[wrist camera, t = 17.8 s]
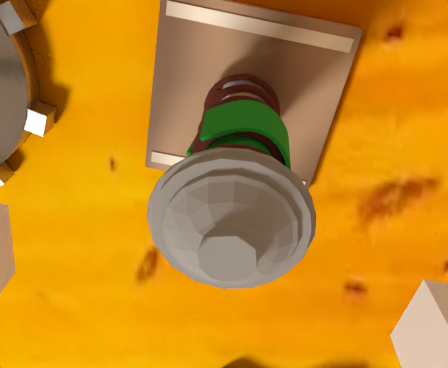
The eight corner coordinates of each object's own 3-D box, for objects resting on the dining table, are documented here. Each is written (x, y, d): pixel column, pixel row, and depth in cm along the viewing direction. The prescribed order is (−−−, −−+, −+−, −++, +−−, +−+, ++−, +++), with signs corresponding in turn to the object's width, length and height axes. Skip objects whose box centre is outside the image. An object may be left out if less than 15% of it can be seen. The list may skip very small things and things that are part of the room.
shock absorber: (174, 106, 27) (96, 255, 14) (242, 34, 24) (223, 136, 11) (242, 167, 29) (229, 347, 16) (311, 106, 26) (364, 263, 13)
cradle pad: (148, 160, 30) (144, 167, 29) (165, -14, 24) (161, -13, 23) (304, 191, 31) (305, 198, 30) (359, 27, 24) (363, 30, 24)
